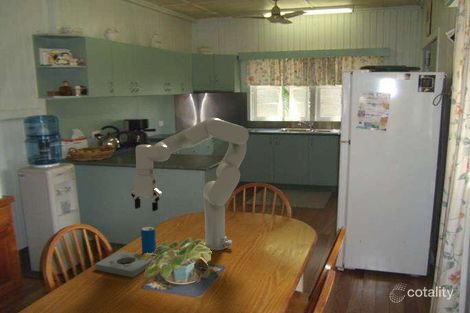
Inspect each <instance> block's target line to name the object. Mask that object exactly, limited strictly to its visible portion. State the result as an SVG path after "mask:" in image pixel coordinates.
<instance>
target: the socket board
mask: <svg viewBox="0 0 470 313" xmlns="http://www.w3.org/2000/svg"><path fill="white" fill-rule="evenodd" d="M142 255H143V254H140V253H139V254H138V253H135V252H128V251H122V250H120V251H119V250H118V251H117V252H116V253H113V254H112V255H109V256H107V257H106V258H104V259H102V260H100V261H98V262H95V263H94V271H95V270H96V271H101V272H106V273H111V274H115V275H118V276H124V277H129V278H131V279H132V278H135V277H136V276H138V275H140V274H141V273H143V272H145V271H144V269H145V268H146V267H147V266H148V265H149V264H150V263H151V262H152V260H153V258H149V259H148V260H147V261H144V260H140V257H141V256H142ZM127 262H129V263H127ZM130 262H131V263H130ZM121 263H122V264H121Z"/></svg>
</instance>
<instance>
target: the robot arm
mask: <svg viewBox="0 0 470 313" xmlns="http://www.w3.org/2000/svg"><path fill="white" fill-rule="evenodd" d="M249 137H250V136H249V131H248V129H247V128H246V127H244V126H242V125H238V124H235V123H232V122H228V121H225V120H223V119H220V118H217V117H209V118H206V119H204V120H203V121H201V122H199V123H196V124H195V125H192V126H191V127H189V128H187V129H184V130H181V131H180V132H178V133H176V134H173V135H171V136H168V137H166V138H164V139H162V140H161V141H160V140H159V142H156V143H155V144H154V145H151V144H138V145H136V146H135V163H136V164H135V169H136V171H135V174H136V175H135V177H134V178H135V179H134V187H132V188H131V189H129V192H130V195H131V197H132V199H133V201H134V209H135V210H136V209H140V208H141V199H140V198H146V199H151V201H152V203H151V210H152V212H157V211H158V210H159V201H160V200H161V199H162V196H163V192H162V191H160V190H159V189H158V181H157V180H158V179H157V177H156V175H155V174H156V170H154V162H165V161H167V160H169V159H170V157H171V155H172V154H173V153H175V152H178V151H180V150H183V149H188V148H189V149H190V148H194V147H196V146H198V145H200V144H201V143H203V142H206V141H207V140H210V139H212V138H214V139H218V140H221V141H225V142H227V143H228V148H227V151H226V153H225V155H224V157H223V158H222V159H221V161H220V163H219V164H218V167H216V170H215V175H216V177H217V178H216V180H211V181H208V182H207V183H206V184H204V186H203V191H202V196H203V197H202V198H203V203H204V205H203V206H204V207H203V208H204V234H205V236H204V237H205V241H204V242H203V243H202V244H204V245H205V246H207V247H208V248H210V249H211V250H212V251H222V250H225V249H227V248H228V247H232V246H233V240H231V239H228V236H226V212H225V208H226V207H225V204H226V203H227V202H228V201H229V199H230V197H231V195H232V194H233V193H234V191H235V189H236V187H237V186H238V184H239V181H240V179H241V172H240V169H239V168H240V166H241V164H242V162H243V160H244V159H245V156H246V154H247V145H248V144H247V142H248V139H249ZM211 250H210V251H211Z"/></svg>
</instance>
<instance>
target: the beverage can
mask: <svg viewBox="0 0 470 313" xmlns="http://www.w3.org/2000/svg"><path fill="white" fill-rule="evenodd" d="M156 235H157V234H156V229H155V226H144V227H142V228H141V231H140V238H141V240H140V241H141V253H142V254H143V253H147V252H148V253H152V252H154V251H155V249H156V250H157V237H156Z"/></svg>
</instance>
